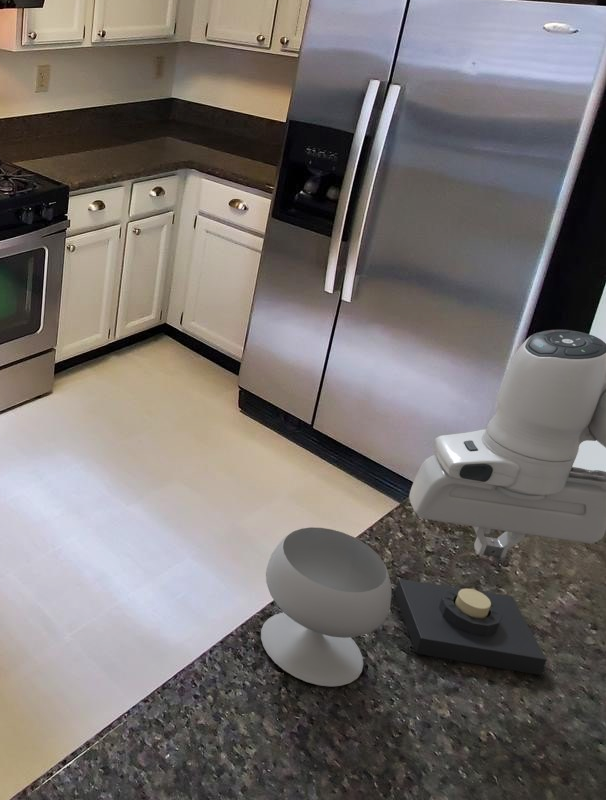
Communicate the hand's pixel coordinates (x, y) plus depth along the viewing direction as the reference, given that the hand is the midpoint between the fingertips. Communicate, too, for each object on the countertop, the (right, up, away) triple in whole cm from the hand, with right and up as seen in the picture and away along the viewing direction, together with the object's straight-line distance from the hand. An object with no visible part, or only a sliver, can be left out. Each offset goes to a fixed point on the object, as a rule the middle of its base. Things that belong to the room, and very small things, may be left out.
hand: (488, 553), depth 100 cm
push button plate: (0, -12, +5) cm, 13 cm away
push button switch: (0, -8, +4) cm, 9 cm away
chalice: (-21, -13, +3) cm, 25 cm away
